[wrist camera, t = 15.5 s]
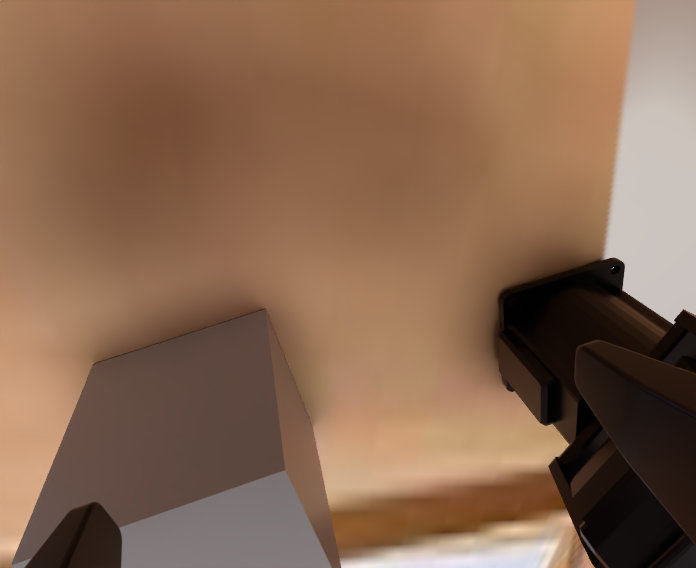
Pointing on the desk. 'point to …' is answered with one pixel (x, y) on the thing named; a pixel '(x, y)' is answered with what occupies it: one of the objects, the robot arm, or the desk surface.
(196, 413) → the matte gray cube
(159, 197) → the desk surface
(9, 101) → the desk surface
